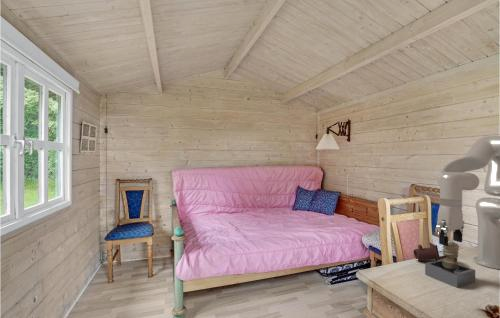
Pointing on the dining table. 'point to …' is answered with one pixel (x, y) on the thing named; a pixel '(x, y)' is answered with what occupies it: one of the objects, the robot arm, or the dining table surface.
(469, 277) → the frame
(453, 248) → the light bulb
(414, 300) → the dining table surface
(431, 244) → the dark brown lumpy piece
